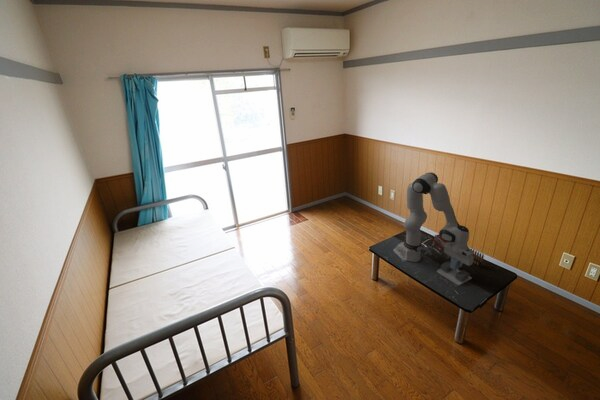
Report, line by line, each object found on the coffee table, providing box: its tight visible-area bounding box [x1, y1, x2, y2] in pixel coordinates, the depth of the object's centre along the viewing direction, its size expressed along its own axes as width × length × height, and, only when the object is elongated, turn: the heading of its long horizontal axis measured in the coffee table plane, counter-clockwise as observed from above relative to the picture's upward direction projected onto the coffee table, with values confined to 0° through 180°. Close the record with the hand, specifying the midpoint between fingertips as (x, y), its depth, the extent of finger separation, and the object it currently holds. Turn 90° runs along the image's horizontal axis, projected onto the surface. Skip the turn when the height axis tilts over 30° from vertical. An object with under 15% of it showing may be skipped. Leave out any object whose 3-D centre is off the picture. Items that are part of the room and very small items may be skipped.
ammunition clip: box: [470, 247, 485, 269], centre depth 213 cm, size 11×2×12 cm, turn 28°
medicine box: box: [433, 233, 453, 252], centre depth 237 cm, size 15×8×8 cm, turn 11°
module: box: [449, 258, 463, 270], centre depth 201 cm, size 4×8×7 cm, turn 117°
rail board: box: [436, 261, 473, 287], centre depth 205 cm, size 18×14×6 cm
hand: (456, 263), depth 202 cm, fingers closed on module, 4 cm apart
